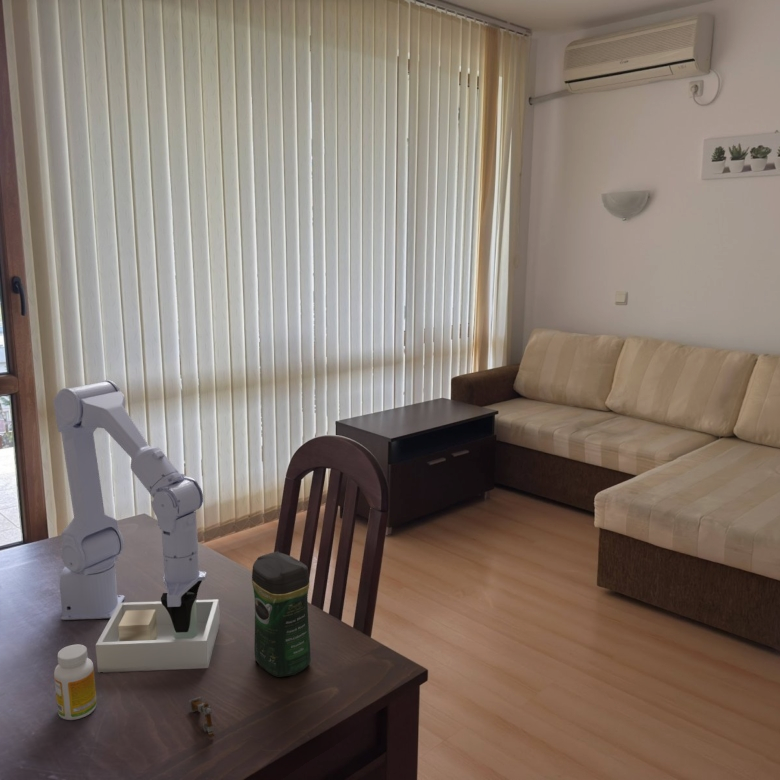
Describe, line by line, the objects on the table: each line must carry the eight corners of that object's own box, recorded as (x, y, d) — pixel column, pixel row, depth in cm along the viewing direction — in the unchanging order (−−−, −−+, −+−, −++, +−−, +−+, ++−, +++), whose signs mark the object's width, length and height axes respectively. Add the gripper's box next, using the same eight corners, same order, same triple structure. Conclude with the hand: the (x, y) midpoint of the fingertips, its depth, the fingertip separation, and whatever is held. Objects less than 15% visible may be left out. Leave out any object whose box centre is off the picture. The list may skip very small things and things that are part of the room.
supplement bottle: (103, 699, 111) (98, 642, 108) (85, 722, 105) (80, 663, 103) (70, 696, 111) (64, 640, 109) (50, 719, 106) (44, 660, 104)
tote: (97, 672, 117) (95, 645, 116) (121, 627, 130) (119, 602, 129) (207, 668, 119) (206, 640, 118) (219, 624, 132) (218, 599, 131)
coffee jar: (318, 666, 119) (317, 563, 115) (277, 685, 114) (274, 577, 110) (287, 641, 127) (285, 543, 123) (247, 658, 122) (243, 556, 118)
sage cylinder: (195, 640, 123) (193, 602, 121) (171, 641, 122) (169, 603, 121) (199, 627, 127) (197, 591, 125) (176, 628, 126) (173, 591, 125)
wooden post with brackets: (207, 740, 101) (202, 706, 101) (193, 730, 108) (188, 698, 108) (219, 735, 102) (214, 702, 102) (205, 726, 108) (200, 695, 109)
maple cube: (120, 652, 121) (118, 625, 120) (128, 636, 126) (126, 610, 125) (150, 651, 122) (148, 624, 121) (157, 635, 127) (155, 609, 126)
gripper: (197, 569, 114) (201, 646, 117) (211, 532, 129) (214, 602, 131) (151, 571, 114) (157, 648, 117) (171, 533, 128) (175, 603, 131)
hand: (184, 624), depth 124 cm, fingers closed on sage cylinder, 4 cm apart
